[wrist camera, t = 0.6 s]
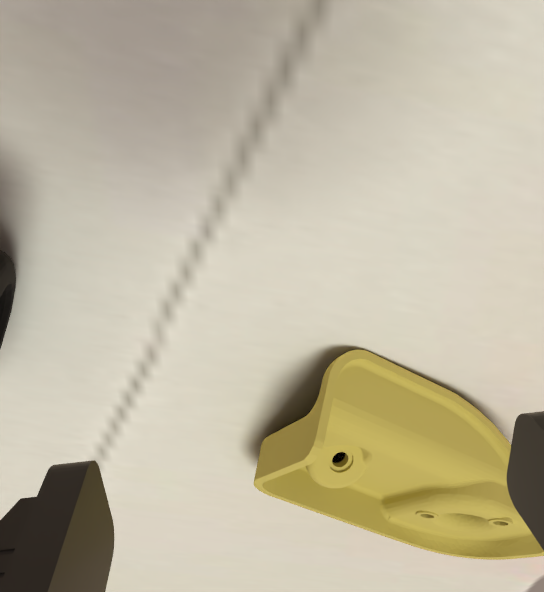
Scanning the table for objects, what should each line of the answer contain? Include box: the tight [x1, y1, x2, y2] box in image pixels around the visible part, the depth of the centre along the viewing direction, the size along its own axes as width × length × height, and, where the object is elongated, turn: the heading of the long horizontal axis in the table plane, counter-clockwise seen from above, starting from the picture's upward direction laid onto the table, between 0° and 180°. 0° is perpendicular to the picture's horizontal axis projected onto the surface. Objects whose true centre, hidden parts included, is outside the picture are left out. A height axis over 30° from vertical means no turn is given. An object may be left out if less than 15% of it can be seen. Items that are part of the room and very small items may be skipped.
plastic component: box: [254, 350, 544, 559], centre depth 36 cm, size 20×7×10 cm
